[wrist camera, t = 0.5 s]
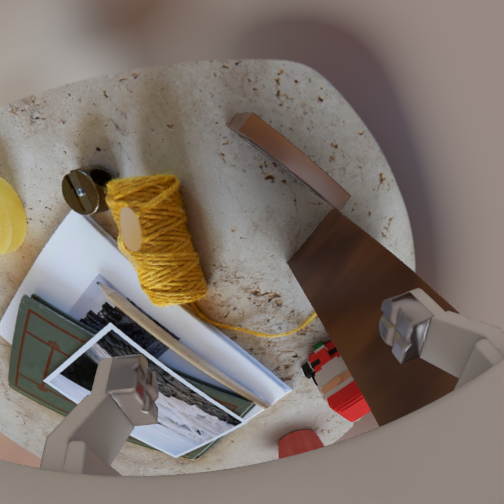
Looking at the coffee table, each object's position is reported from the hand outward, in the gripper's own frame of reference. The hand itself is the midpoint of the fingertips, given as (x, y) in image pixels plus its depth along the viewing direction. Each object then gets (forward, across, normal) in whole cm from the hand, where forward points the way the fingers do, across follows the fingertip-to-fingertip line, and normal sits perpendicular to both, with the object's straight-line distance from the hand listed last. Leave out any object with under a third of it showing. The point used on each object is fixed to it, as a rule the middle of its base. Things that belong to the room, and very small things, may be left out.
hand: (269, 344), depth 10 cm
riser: (+22, -12, +10) cm, 27 cm away
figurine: (+22, -11, +27) cm, 37 cm away
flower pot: (+22, -5, +51) cm, 55 cm away
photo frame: (+22, -6, -2) cm, 23 cm away
